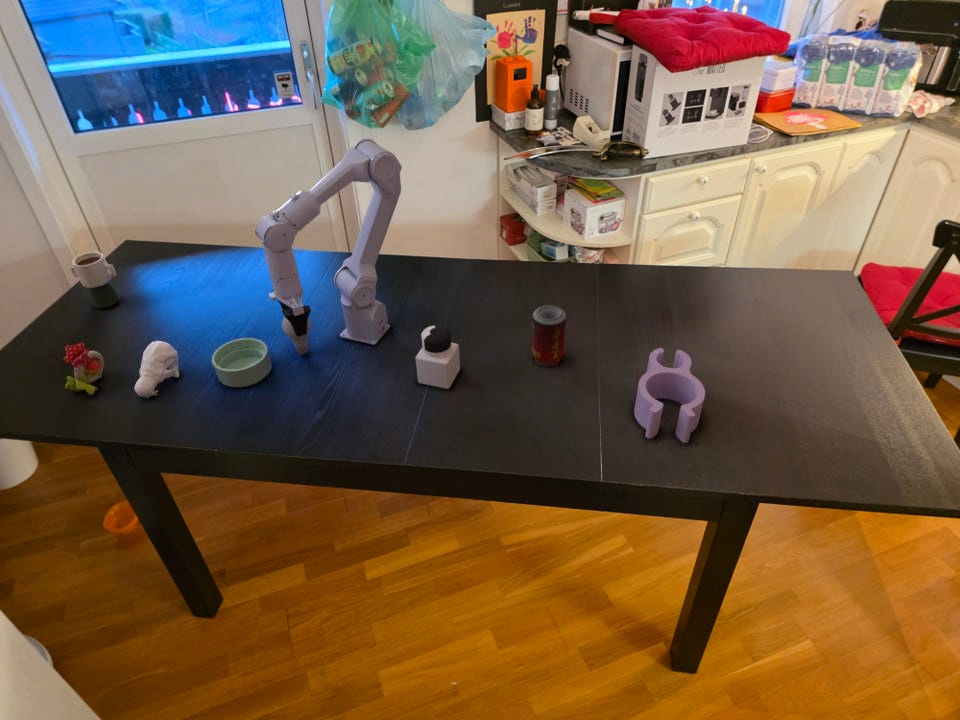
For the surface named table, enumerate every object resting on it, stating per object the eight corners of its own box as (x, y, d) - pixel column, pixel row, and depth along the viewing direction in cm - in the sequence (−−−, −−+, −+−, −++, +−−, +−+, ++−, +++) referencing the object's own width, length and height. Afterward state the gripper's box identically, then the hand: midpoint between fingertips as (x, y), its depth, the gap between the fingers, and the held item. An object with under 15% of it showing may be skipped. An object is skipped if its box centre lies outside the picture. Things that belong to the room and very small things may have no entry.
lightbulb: (310, 363, 147) (301, 323, 140) (285, 360, 148) (274, 320, 141) (321, 346, 151) (312, 307, 145) (296, 344, 153) (286, 304, 146)
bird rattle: (89, 383, 146) (57, 396, 138) (84, 335, 144) (51, 344, 135) (114, 386, 145) (84, 399, 137) (110, 338, 143) (78, 347, 134)
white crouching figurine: (174, 338, 141) (143, 377, 132) (188, 366, 146) (159, 406, 138) (147, 335, 142) (115, 374, 133) (162, 363, 148) (132, 403, 139)
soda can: (547, 344, 150) (550, 299, 142) (570, 358, 146) (573, 313, 138) (524, 356, 147) (525, 311, 139) (546, 372, 142) (549, 326, 135)
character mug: (134, 295, 171) (116, 251, 163) (122, 311, 165) (102, 266, 157) (93, 295, 171) (73, 251, 163) (80, 311, 166) (58, 266, 158)
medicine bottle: (460, 369, 144) (458, 324, 136) (448, 390, 138) (445, 344, 131) (430, 363, 146) (426, 318, 138) (417, 383, 140) (412, 338, 133)
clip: (635, 371, 142) (639, 345, 137) (695, 377, 140) (701, 351, 135) (633, 436, 126) (638, 410, 122) (700, 444, 124) (707, 418, 120)
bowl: (282, 361, 147) (278, 344, 144) (251, 394, 139) (245, 376, 136) (240, 351, 151) (234, 333, 148) (206, 382, 143) (200, 364, 139)
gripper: (256, 262, 140) (270, 314, 148) (273, 294, 130) (287, 348, 138) (288, 253, 143) (300, 306, 151) (308, 284, 132) (320, 338, 141)
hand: (296, 325), depth 145 cm, fingers open, 7 cm apart
